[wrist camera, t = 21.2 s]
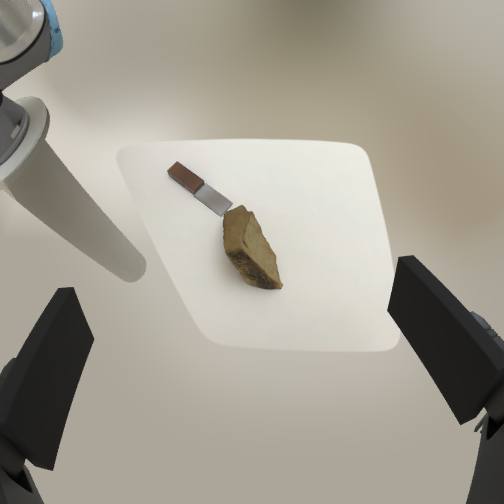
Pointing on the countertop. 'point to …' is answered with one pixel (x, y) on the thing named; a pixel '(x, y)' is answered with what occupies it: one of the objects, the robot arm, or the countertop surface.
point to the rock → (250, 249)
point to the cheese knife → (199, 189)
